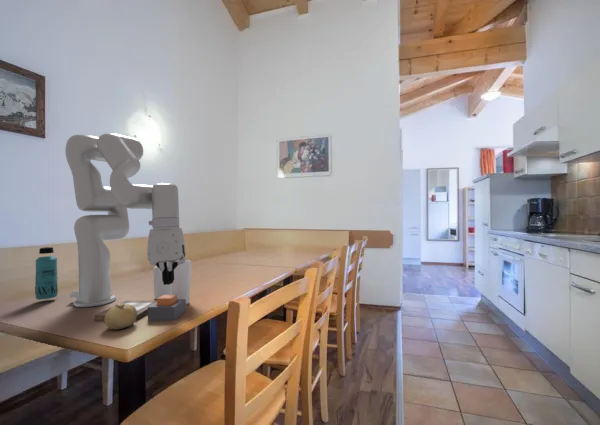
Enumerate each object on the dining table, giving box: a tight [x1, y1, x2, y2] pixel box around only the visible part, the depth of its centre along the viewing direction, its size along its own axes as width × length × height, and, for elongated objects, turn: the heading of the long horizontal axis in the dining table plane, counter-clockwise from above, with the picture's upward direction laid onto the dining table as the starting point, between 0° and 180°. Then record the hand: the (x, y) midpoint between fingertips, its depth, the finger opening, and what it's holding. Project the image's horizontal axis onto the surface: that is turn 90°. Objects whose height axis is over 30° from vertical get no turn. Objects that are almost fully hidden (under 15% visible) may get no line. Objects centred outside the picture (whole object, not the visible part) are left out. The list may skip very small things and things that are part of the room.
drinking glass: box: [171, 259, 192, 306], centre depth 106 cm, size 7×7×15 cm
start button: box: [156, 295, 177, 306], centre depth 93 cm, size 4×4×3 cm
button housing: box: [147, 299, 187, 322], centre depth 93 cm, size 8×8×4 cm
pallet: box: [94, 300, 157, 321], centre depth 98 cm, size 13×15×2 cm
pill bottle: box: [153, 261, 172, 300], centre depth 115 cm, size 8×8×15 cm
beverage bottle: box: [34, 246, 59, 300], centre depth 113 cm, size 6×7×20 cm
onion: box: [103, 302, 137, 330], centre depth 85 cm, size 8×8×7 cm
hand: (168, 283), depth 93 cm, fingers closed
